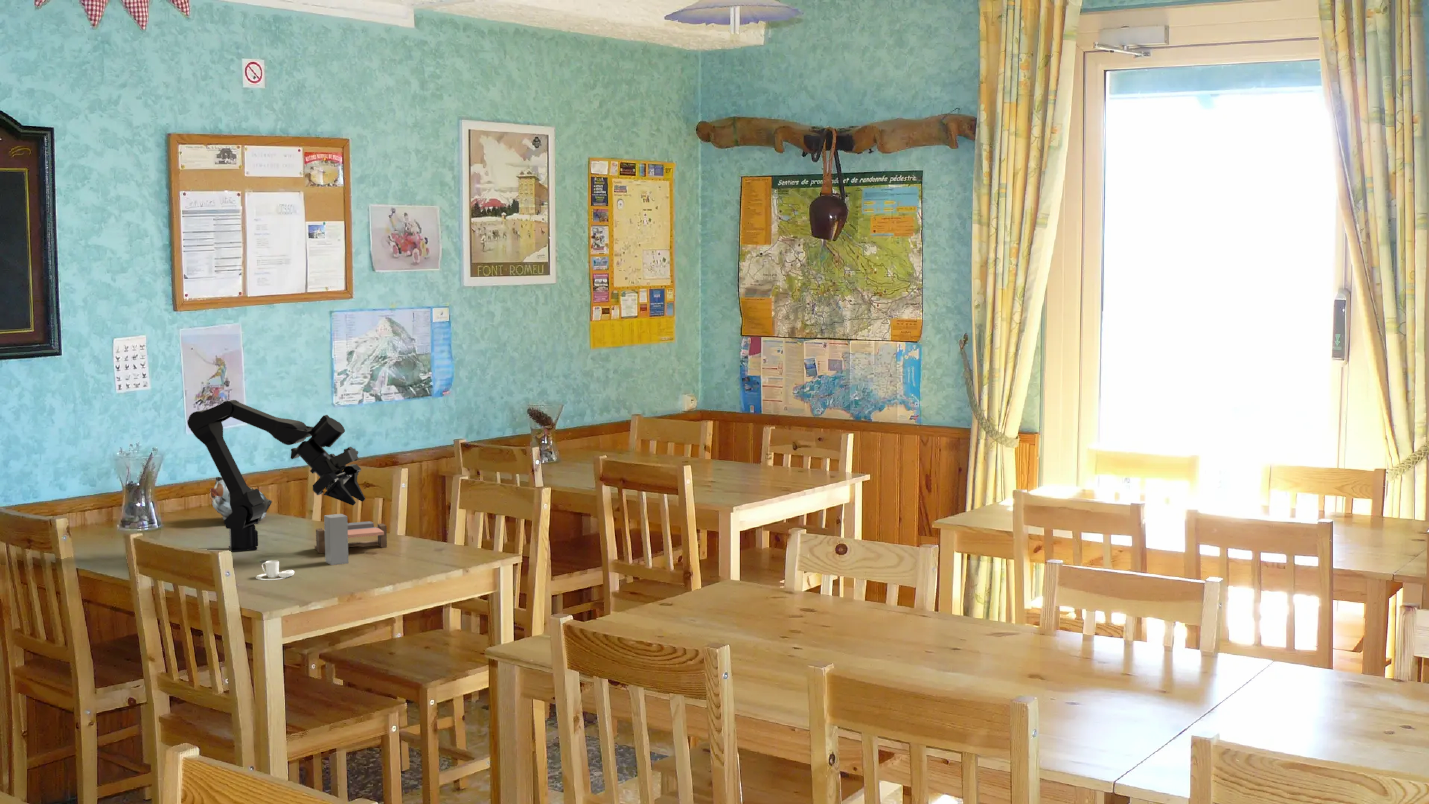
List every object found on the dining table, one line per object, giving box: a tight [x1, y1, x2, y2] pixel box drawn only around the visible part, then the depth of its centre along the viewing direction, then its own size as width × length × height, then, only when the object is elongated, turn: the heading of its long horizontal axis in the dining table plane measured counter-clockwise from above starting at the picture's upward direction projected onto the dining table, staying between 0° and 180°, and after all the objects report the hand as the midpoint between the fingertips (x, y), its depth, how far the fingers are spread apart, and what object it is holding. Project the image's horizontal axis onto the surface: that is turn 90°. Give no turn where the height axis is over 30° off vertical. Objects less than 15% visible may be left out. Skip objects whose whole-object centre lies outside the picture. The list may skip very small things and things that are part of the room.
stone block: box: [323, 513, 349, 566], centre depth 340 cm, size 4×4×12 cm
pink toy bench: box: [314, 523, 388, 554], centre depth 358 cm, size 18×7×6 cm, turn 117°
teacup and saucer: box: [255, 560, 295, 581], centre depth 324 cm, size 9×8×4 cm
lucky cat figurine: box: [209, 476, 273, 523], centre depth 396 cm, size 17×14×16 cm
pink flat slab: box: [348, 520, 384, 539], centre depth 355 cm, size 14×11×3 cm
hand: (359, 502), depth 350 cm, fingers open, 6 cm apart
